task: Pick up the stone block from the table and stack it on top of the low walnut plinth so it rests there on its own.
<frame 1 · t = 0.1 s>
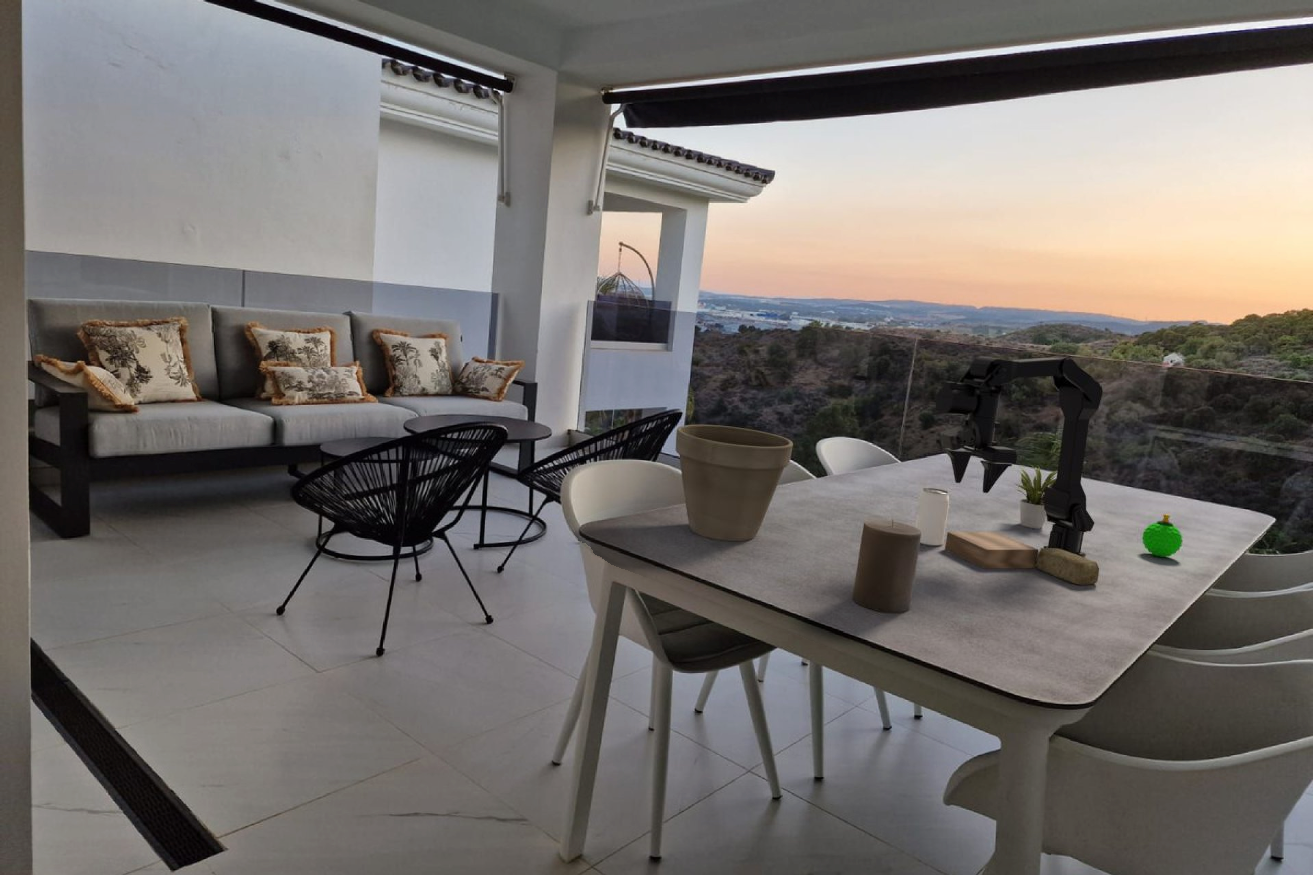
hand: (971, 487, 180), 15 cm above the table, tool pointing down, fingers open, 9 cm apart
can: (927, 543, 189), on the table
stone block: (1064, 578, 172), on the table
plant pot: (724, 533, 181), on the table
ornament: (1158, 557, 196), on the table
pillar candle: (881, 604, 144), on the table
plinth: (989, 558, 180), on the table
house plant: (1036, 527, 216), on the table
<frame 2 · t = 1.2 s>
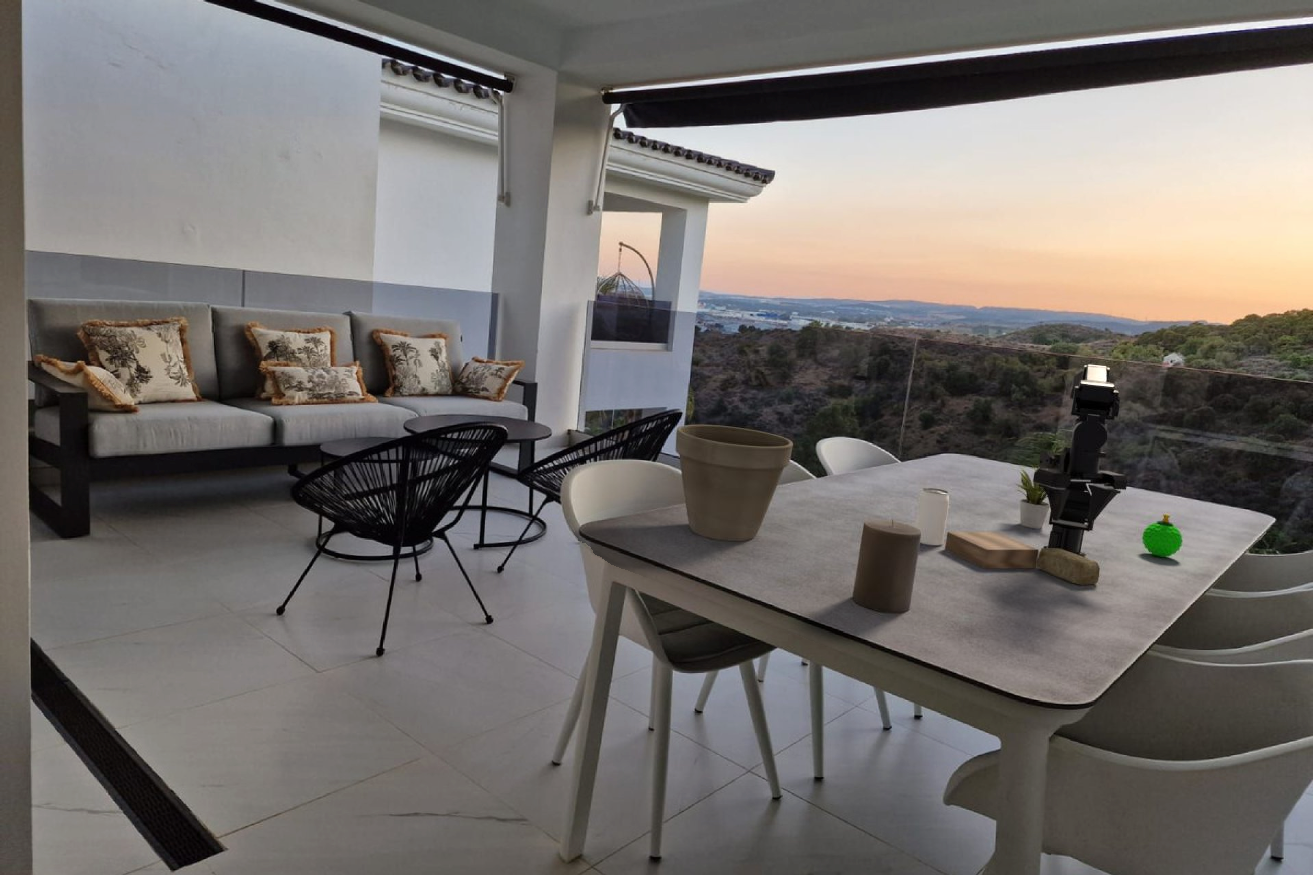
hand: (1073, 520, 170), 12 cm above the table, tool pointing down, fingers open, 9 cm apart
nothing on the table moved.
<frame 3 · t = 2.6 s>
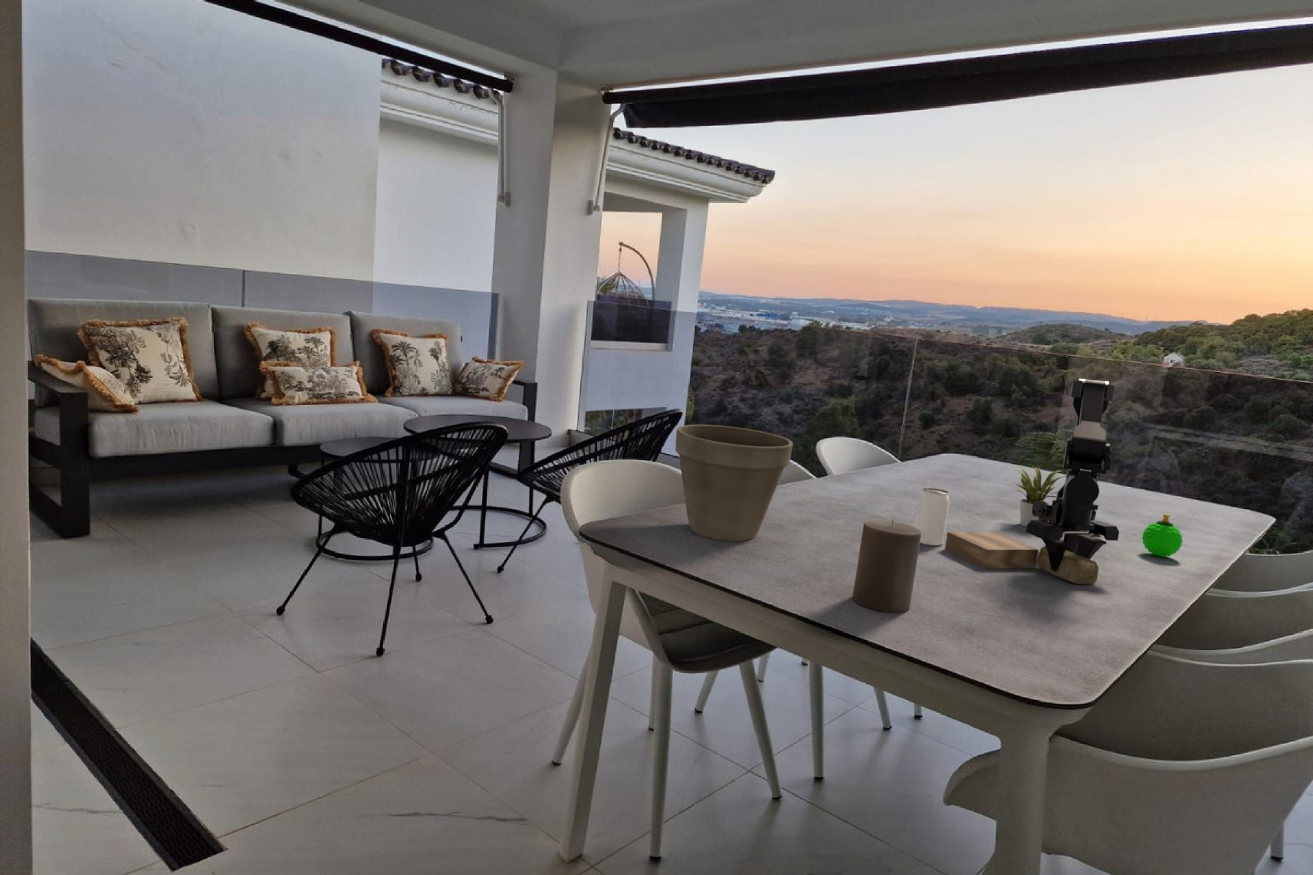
hand: (1065, 570, 171), 1 cm above the table, tool pointing down, fingers closed on stone block, 6 cm apart
stone block: (1064, 577, 172), on the table, touching gripper
everything else where it was.
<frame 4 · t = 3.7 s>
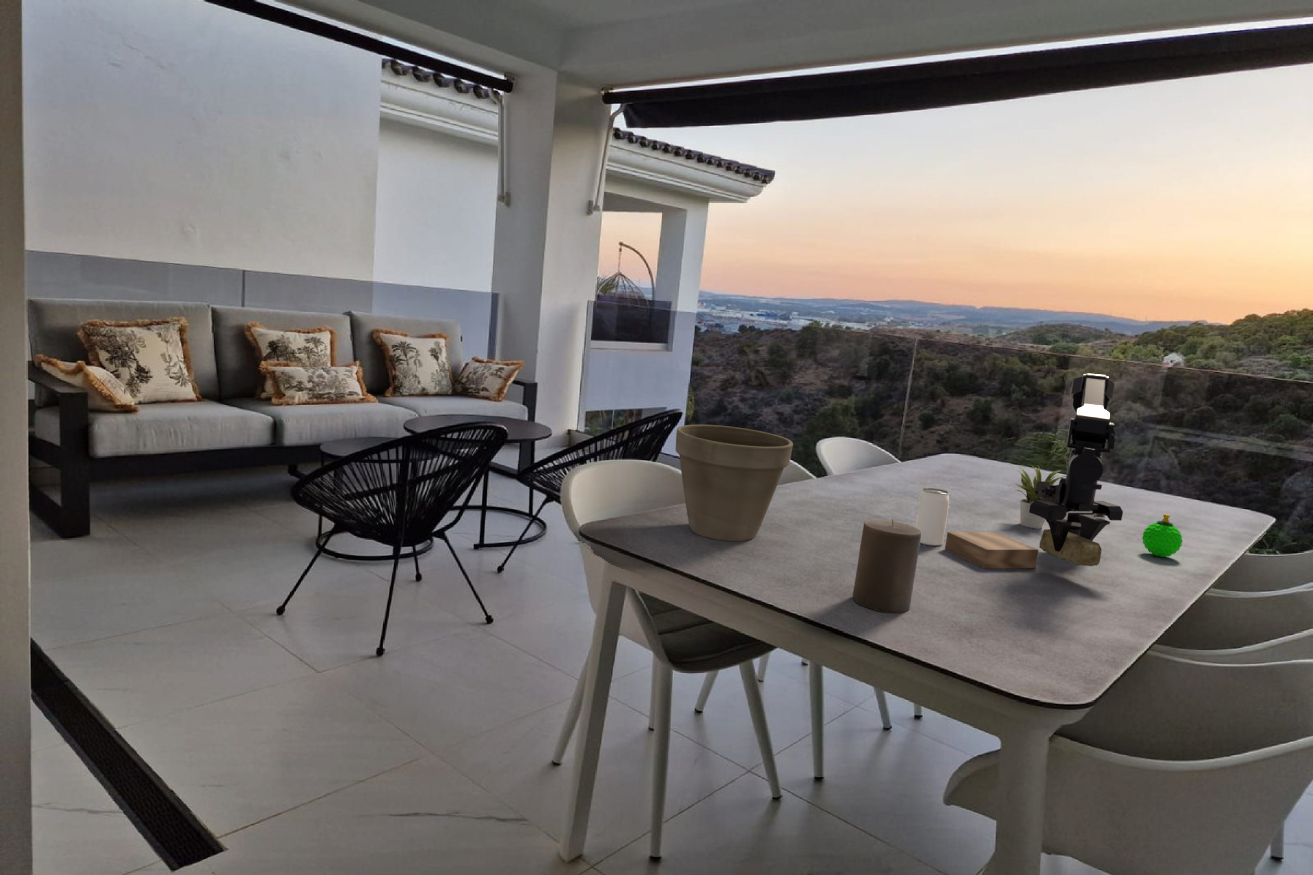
hand: (1069, 550, 171), 5 cm above the table, tool pointing down, fingers closed on stone block, 6 cm apart
stone block: (1067, 559, 171), point 4 cm above the table, touching gripper
everything else where it was.
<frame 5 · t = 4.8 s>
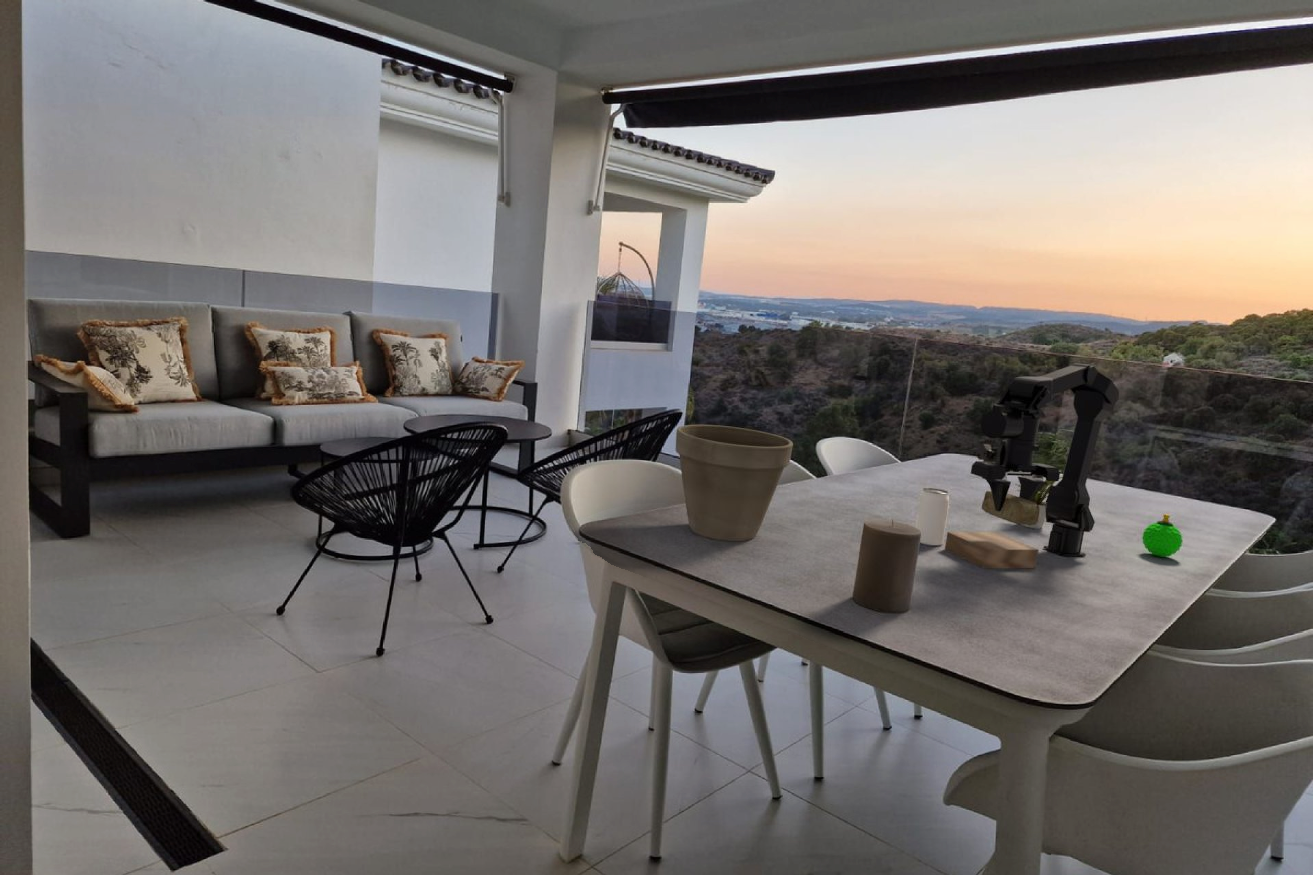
hand: (1009, 511, 177), 11 cm above the table, tool pointing down, fingers closed on stone block, 6 cm apart
stone block: (1008, 519, 177), point 9 cm above the table, touching gripper
everything else where it was.
when the fingers open (6 cm above the table, at t = 6.2 s): stone block stays where it is, resting on plinth.
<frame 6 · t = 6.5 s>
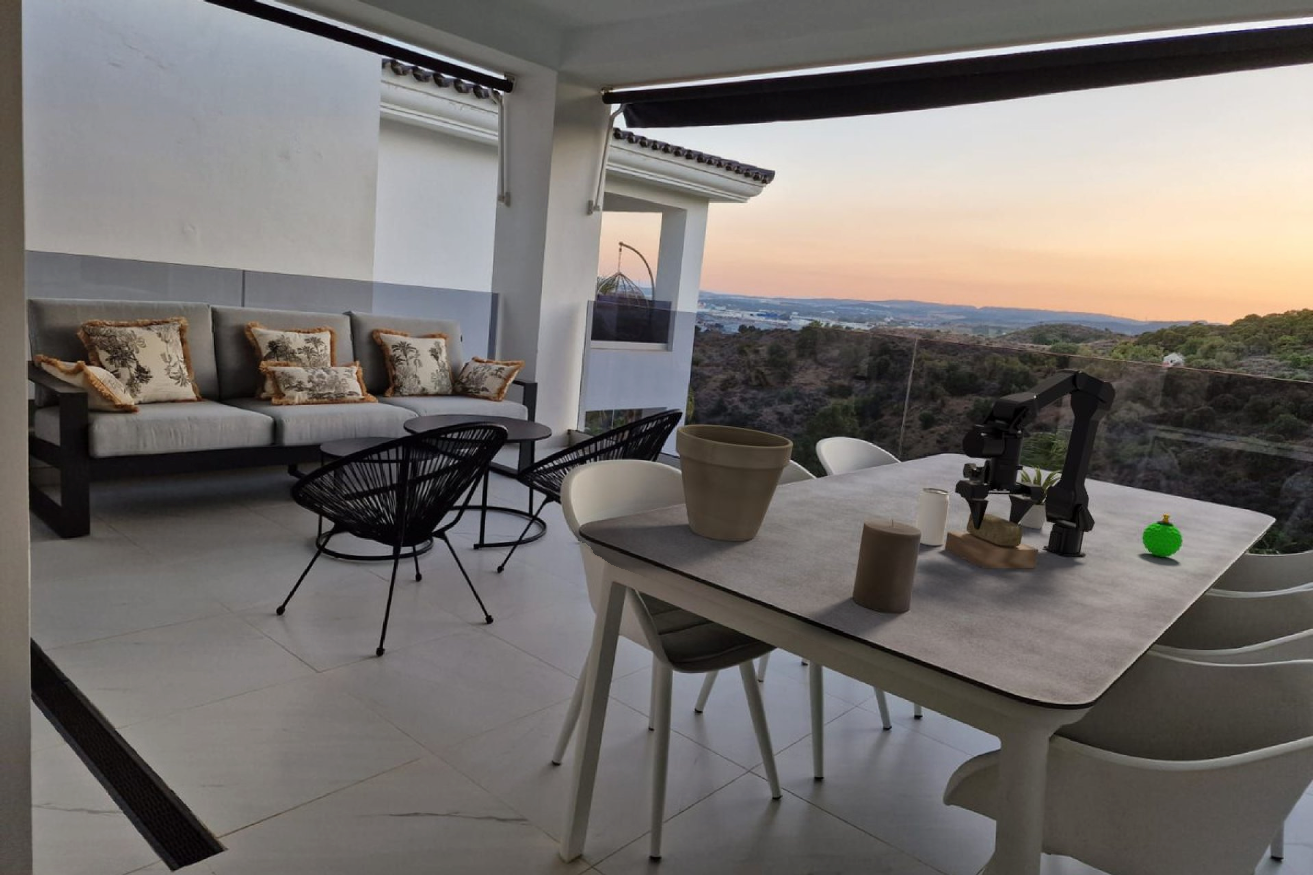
hand: (993, 529, 179), 6 cm above the table, tool pointing down, fingers open, 9 cm apart
stone block: (991, 541, 179), point 4 cm above the table, touching plinth
everything else where it was.
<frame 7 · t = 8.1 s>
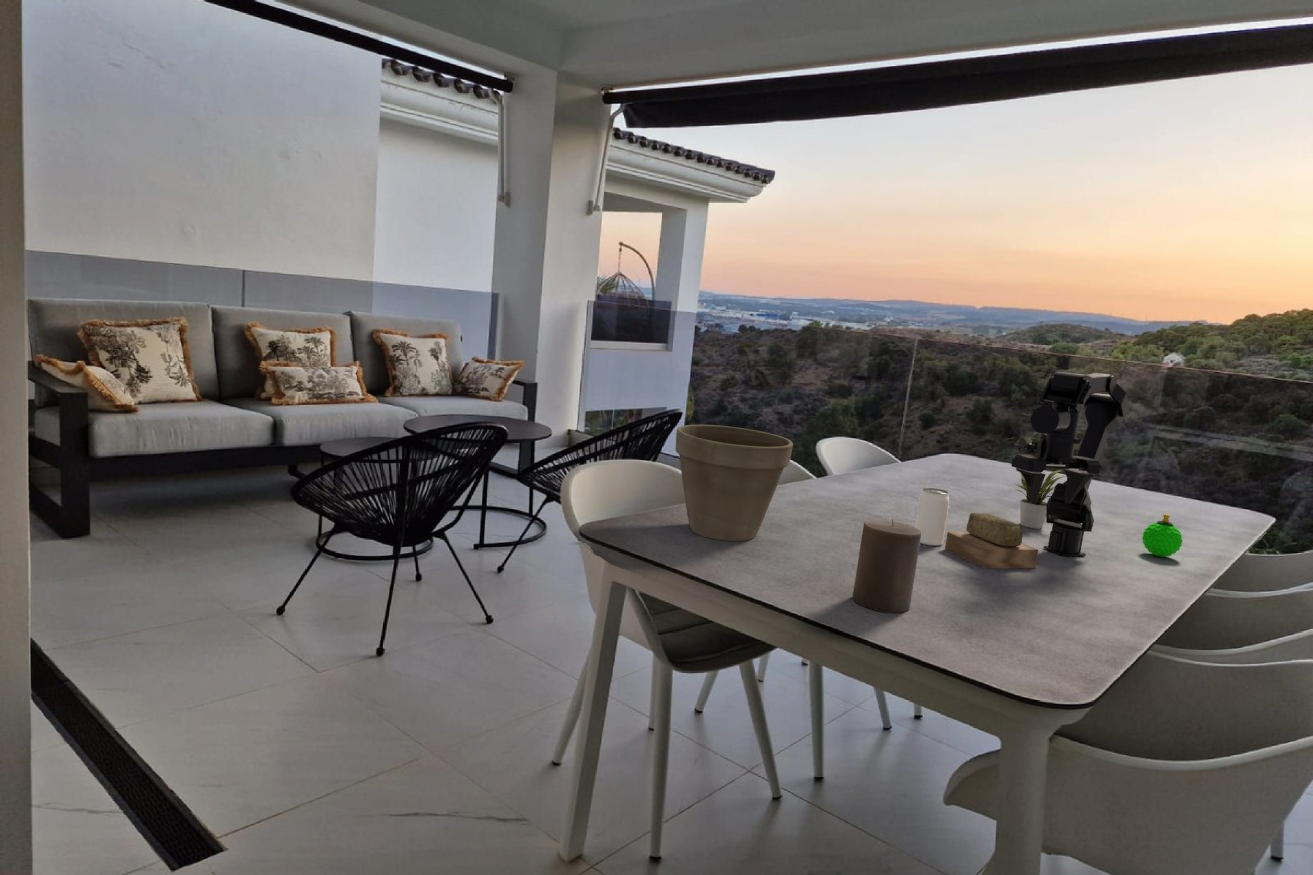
hand: (1049, 503, 180), 13 cm above the table, tool pointing down, fingers open, 9 cm apart
nothing on the table moved.
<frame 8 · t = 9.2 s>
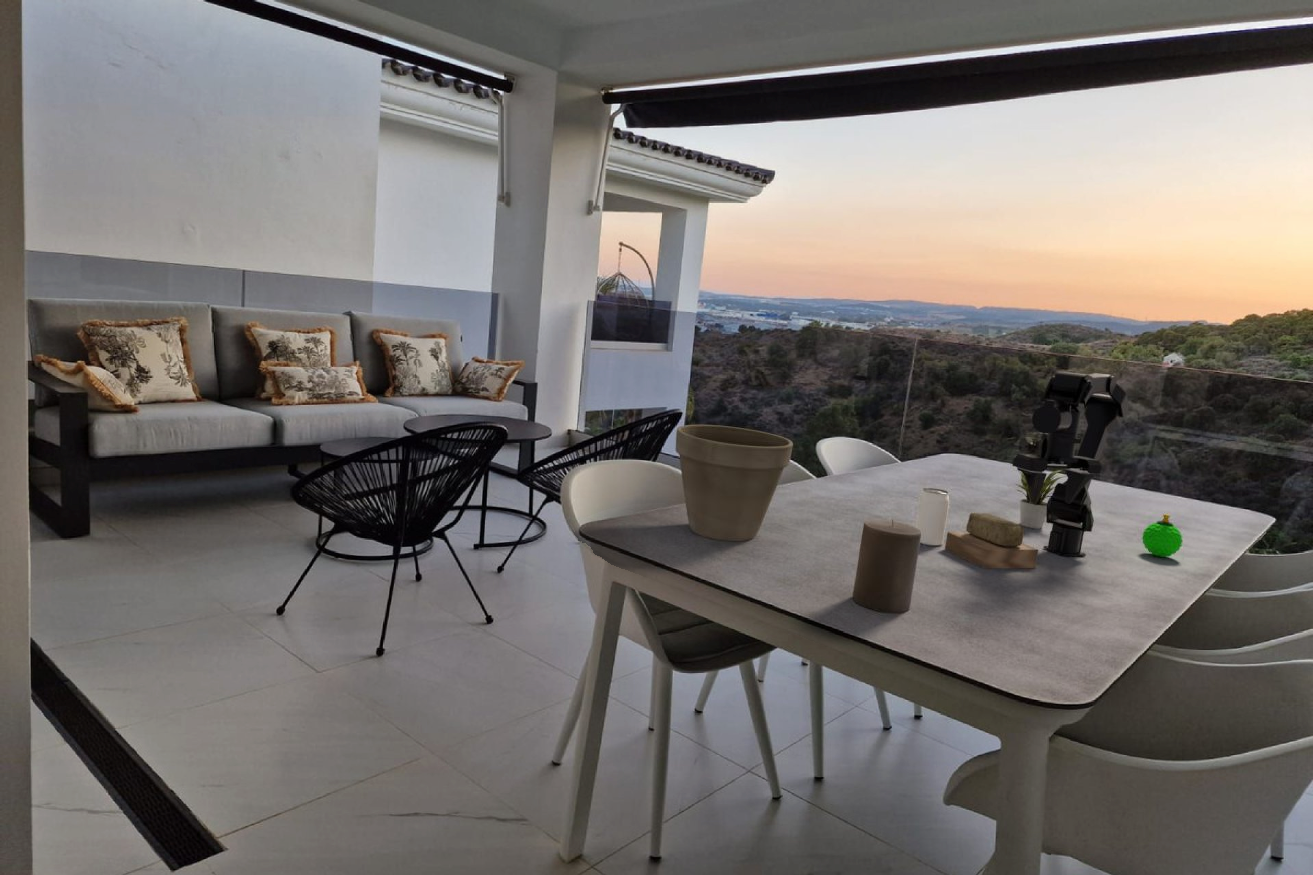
hand: (1050, 502, 180), 13 cm above the table, tool pointing down, fingers open, 9 cm apart
nothing on the table moved.
at the end: stone block 0.2 cm from the plinth (horizontally); stone block inside the target area on the plinth (0.2 cm from its centre), point 3.8 cm above the plinth's base; the gripper is holding nothing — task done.
